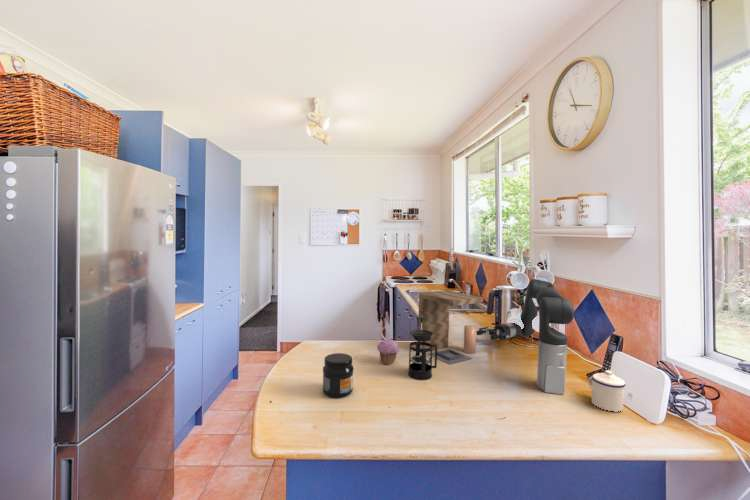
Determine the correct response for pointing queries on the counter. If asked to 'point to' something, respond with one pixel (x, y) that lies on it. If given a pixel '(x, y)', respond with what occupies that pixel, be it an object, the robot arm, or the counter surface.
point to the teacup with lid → (607, 391)
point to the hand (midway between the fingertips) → (483, 335)
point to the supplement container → (338, 375)
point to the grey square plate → (450, 356)
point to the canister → (469, 339)
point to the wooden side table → (440, 313)
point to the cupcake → (387, 351)
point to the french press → (421, 362)
